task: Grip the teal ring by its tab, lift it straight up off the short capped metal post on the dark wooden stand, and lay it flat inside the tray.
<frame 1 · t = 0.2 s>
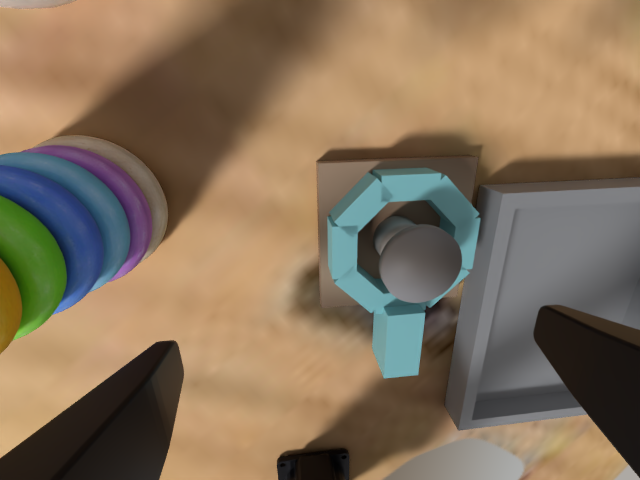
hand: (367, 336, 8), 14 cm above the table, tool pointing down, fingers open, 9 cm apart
stacking toy: (104, 202, 20), on the table
ring: (395, 237, 22), point 1 cm above the table, touching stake
tray: (547, 303, 26), on the table
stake: (390, 232, 23), on the table
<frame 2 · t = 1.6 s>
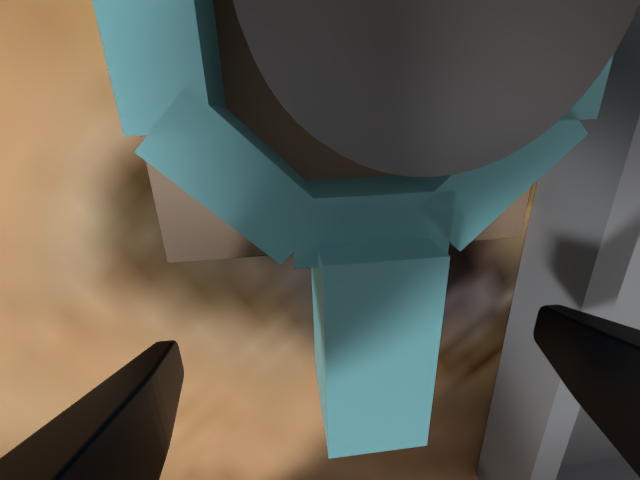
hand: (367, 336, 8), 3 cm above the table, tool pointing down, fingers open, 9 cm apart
ring: (355, 44, 7), point 1 cm above the table, touching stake
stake: (346, 52, 8), on the table
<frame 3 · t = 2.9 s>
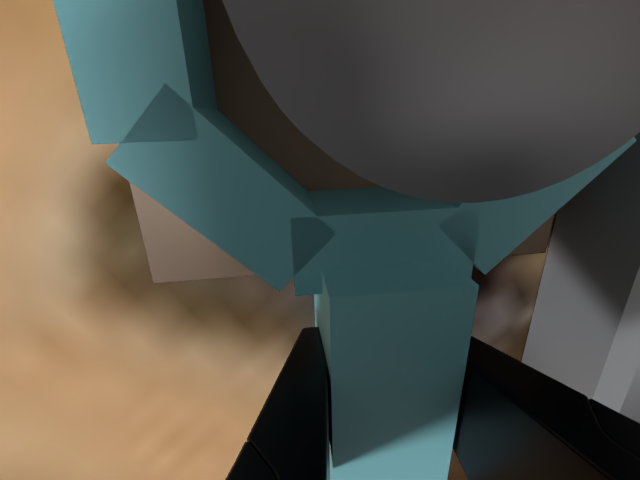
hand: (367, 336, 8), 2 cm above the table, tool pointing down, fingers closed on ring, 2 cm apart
ring: (364, 36, 6), point 1 cm above the table, touching gripper, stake
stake: (354, 46, 7), on the table
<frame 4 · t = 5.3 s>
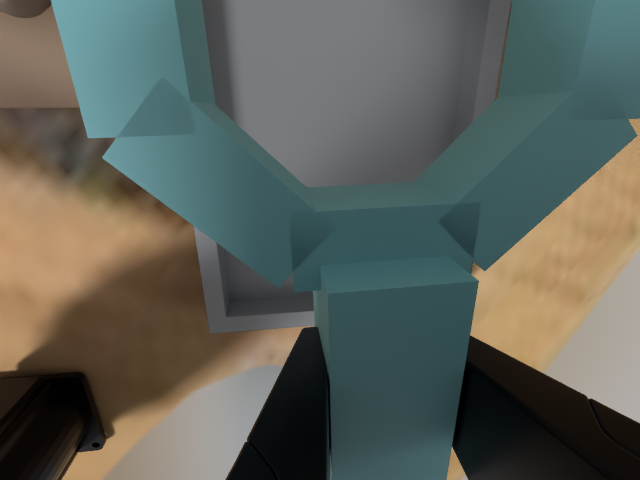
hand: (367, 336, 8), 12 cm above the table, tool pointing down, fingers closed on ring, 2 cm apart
ring: (363, 31, 6), point 11 cm above the table, touching gripper
tray: (334, 145, 18), on the table
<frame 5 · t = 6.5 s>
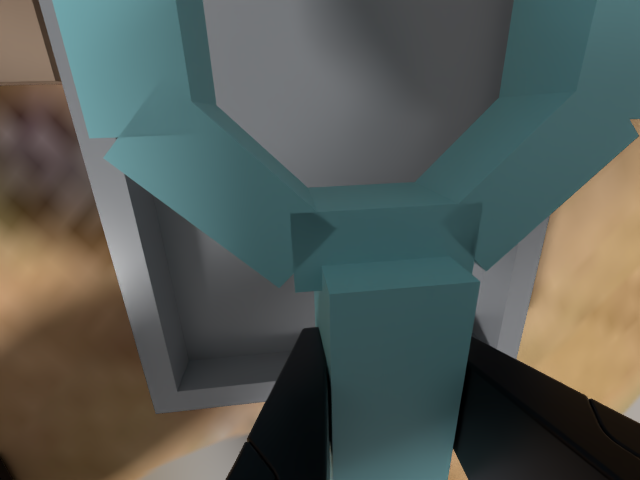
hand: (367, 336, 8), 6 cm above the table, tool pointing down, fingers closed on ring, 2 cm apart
ring: (364, 32, 6), point 5 cm above the table, touching gripper
tray: (330, 137, 12), on the table
when the fingers open (3 cm above the table, at t = 7.7 s): ring drops 1 cm, resting on tray.
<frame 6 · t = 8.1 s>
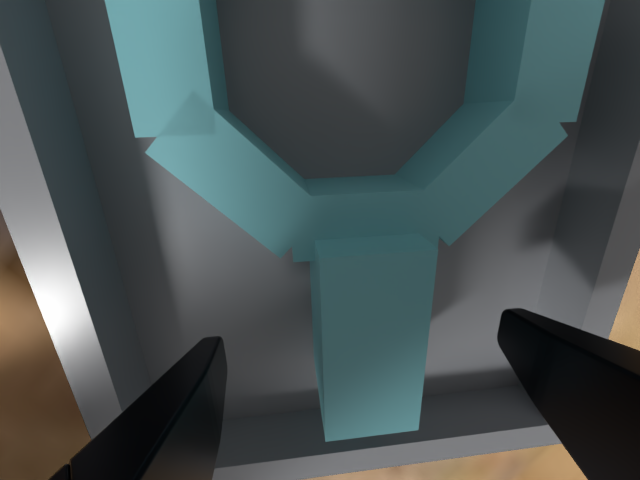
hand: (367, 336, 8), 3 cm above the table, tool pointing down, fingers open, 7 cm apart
ring: (350, 50, 8), point 1 cm above the table, touching tray
tray: (344, 145, 9), on the table
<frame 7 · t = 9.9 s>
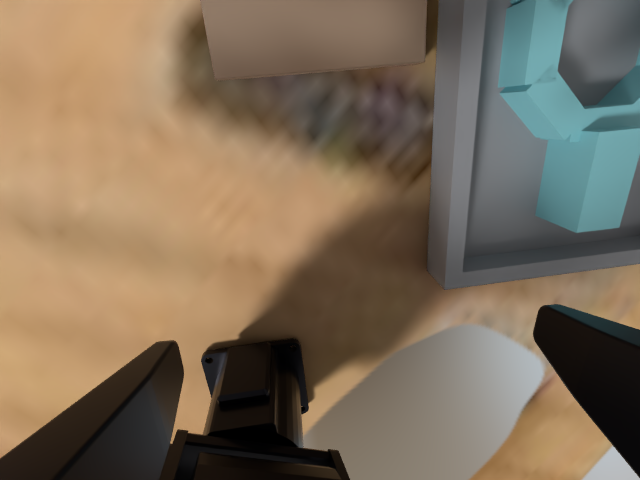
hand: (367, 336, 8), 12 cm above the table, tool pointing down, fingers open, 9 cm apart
ring: (587, 42, 16), point 1 cm above the table, touching tray
tray: (565, 92, 18), on the table
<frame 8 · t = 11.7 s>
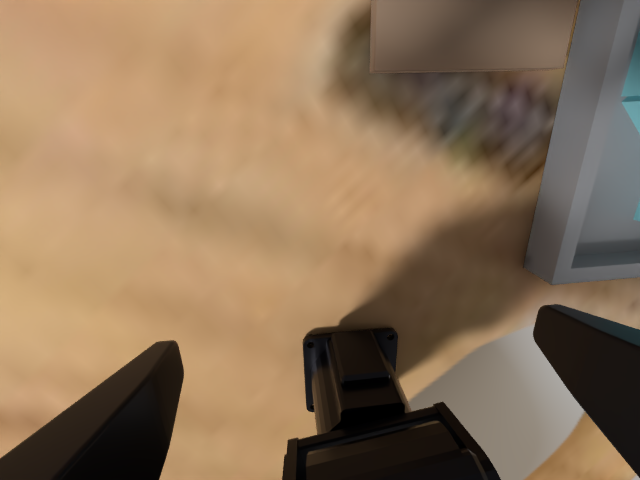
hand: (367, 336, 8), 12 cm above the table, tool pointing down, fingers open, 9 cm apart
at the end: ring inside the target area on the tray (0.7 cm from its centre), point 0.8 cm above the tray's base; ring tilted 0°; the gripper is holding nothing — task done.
